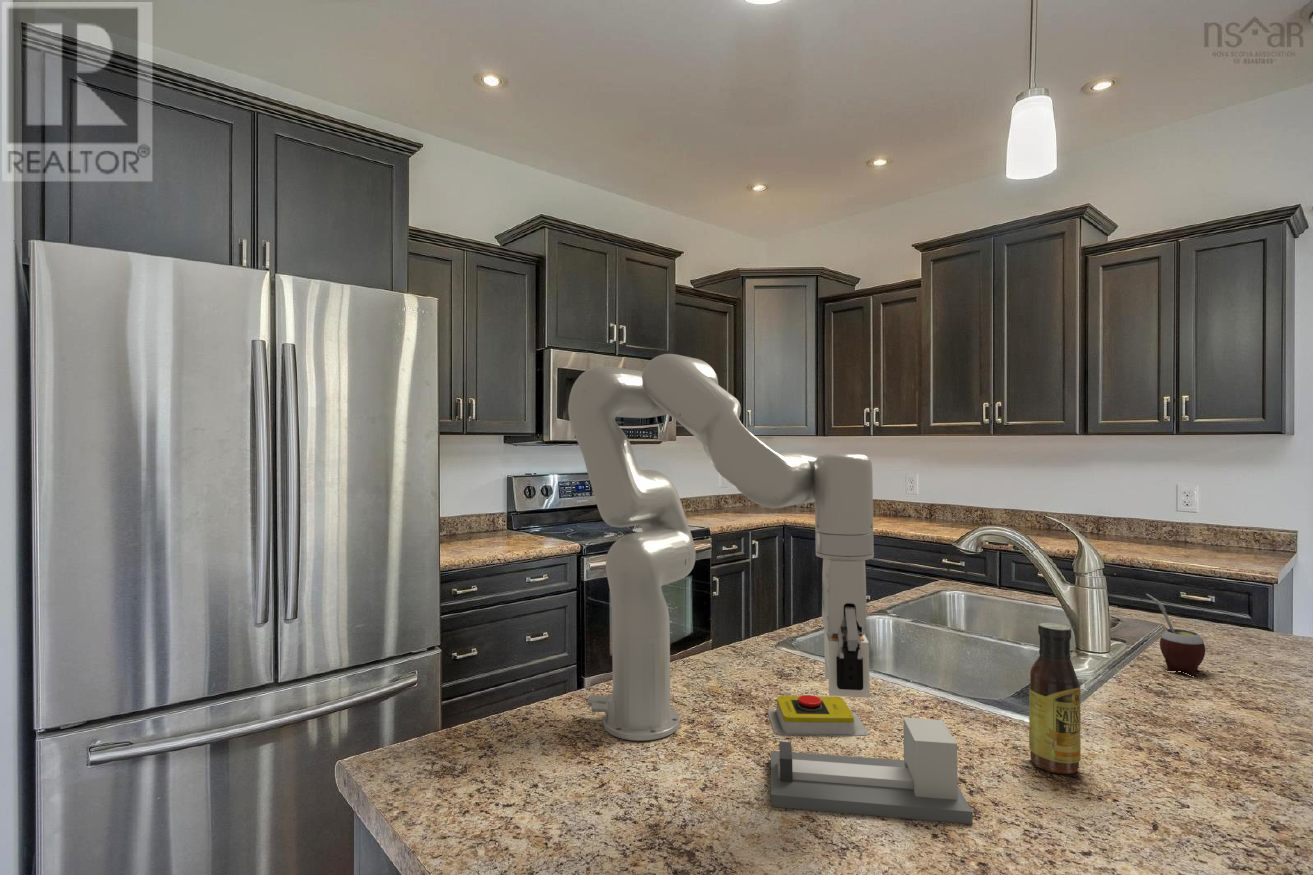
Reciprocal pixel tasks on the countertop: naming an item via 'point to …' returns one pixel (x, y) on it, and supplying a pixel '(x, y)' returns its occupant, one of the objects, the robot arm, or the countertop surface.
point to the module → (831, 666)
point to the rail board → (877, 779)
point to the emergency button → (815, 717)
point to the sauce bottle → (1054, 704)
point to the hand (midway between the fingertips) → (846, 677)
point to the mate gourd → (1181, 647)
